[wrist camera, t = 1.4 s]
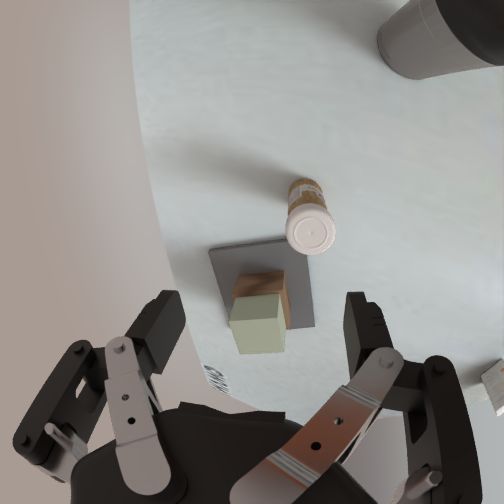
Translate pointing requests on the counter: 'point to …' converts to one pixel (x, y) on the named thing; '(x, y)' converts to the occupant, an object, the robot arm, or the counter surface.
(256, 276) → the walnut base block
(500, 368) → the small box
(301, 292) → the slate board
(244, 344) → the sage top block
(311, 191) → the sprinkles bottle
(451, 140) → the counter surface
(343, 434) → the robot arm
